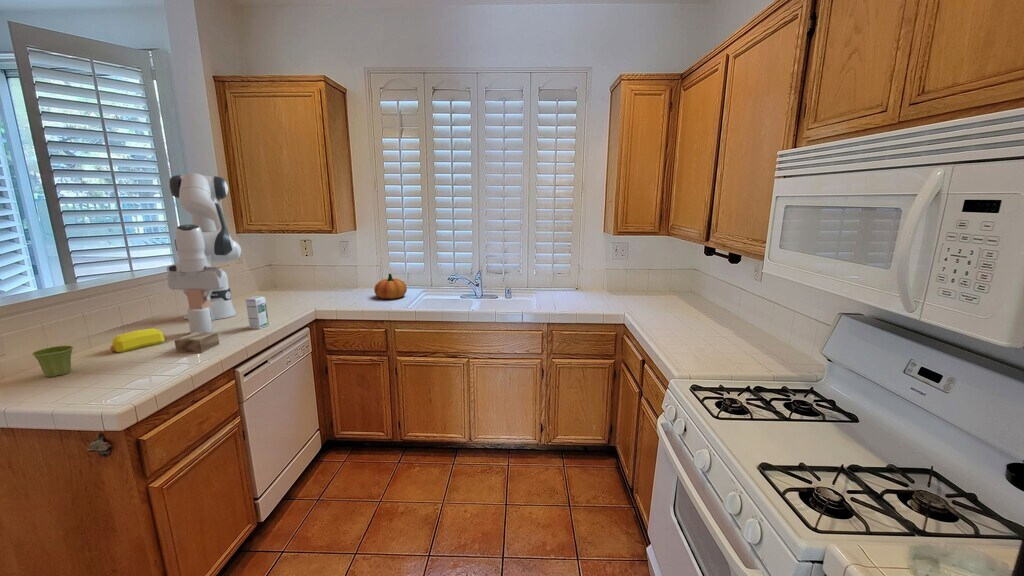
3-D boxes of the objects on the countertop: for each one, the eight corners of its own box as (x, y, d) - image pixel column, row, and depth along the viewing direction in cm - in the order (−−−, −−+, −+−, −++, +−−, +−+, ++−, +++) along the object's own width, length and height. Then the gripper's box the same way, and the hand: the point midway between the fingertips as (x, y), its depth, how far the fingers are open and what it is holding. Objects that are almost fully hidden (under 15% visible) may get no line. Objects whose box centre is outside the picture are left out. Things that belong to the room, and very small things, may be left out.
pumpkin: (398, 292, 271) (396, 270, 268) (412, 297, 257) (411, 274, 254) (369, 296, 258) (368, 273, 255) (383, 302, 244) (382, 277, 241)
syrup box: (259, 329, 192) (256, 299, 189) (249, 328, 193) (245, 298, 190) (269, 325, 198) (265, 296, 194) (258, 324, 199) (255, 295, 196)
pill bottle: (216, 331, 188) (212, 299, 185) (198, 336, 181) (193, 303, 178) (204, 329, 191) (199, 298, 188) (186, 334, 183) (181, 302, 180)
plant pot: (57, 368, 146) (51, 345, 144) (85, 367, 147) (80, 345, 145) (29, 379, 137) (23, 355, 135) (60, 379, 138) (54, 354, 136)
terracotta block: (189, 309, 163) (186, 289, 161) (198, 306, 168) (196, 287, 166) (202, 309, 163) (199, 289, 162) (211, 306, 168) (208, 287, 166)
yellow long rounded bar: (170, 342, 174) (163, 339, 178) (168, 327, 172) (160, 324, 176) (114, 355, 159) (107, 351, 163) (110, 339, 157) (104, 335, 161)
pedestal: (176, 352, 162) (174, 339, 161) (195, 343, 172) (193, 331, 171) (201, 352, 162) (199, 340, 161) (219, 344, 172) (217, 332, 171)
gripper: (225, 265, 165) (230, 298, 168) (175, 265, 165) (180, 298, 168) (214, 267, 159) (219, 302, 162) (162, 267, 159) (167, 302, 162)
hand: (199, 300), depth 165 cm, fingers closed on terracotta block, 5 cm apart
